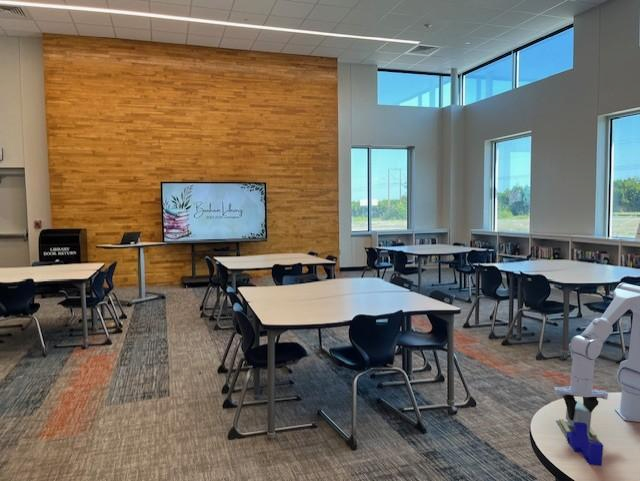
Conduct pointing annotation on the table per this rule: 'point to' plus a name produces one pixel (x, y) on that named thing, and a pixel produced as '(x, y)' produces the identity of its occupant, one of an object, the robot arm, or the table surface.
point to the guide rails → (569, 429)
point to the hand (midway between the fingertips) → (578, 419)
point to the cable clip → (585, 444)
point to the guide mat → (572, 431)
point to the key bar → (580, 415)
